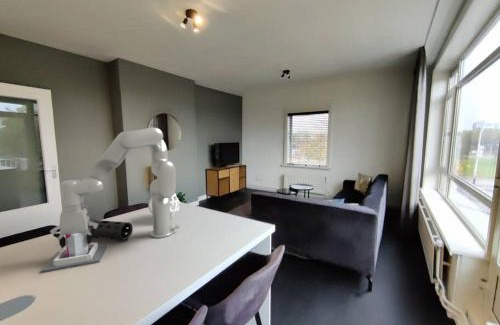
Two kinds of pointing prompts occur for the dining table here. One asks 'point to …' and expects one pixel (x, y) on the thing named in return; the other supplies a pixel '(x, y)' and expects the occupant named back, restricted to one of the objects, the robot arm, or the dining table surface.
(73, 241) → the supplement box
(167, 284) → the dining table surface
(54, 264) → the socket plate
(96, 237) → the muzzle brake
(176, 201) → the decorative ball
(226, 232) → the dining table surface
